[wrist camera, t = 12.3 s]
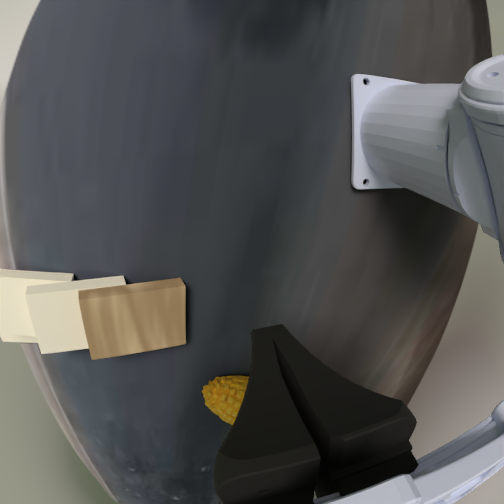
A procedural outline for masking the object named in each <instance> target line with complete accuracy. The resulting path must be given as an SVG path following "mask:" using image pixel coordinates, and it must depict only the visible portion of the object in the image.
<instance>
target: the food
mask: <svg viewBox="0 0 504 504" xmlns="http://www.w3.org/2000/svg"><path fill="white" fill-rule="evenodd" d="M248 379H249V377H246V376H226V377H225V376H223V377H216V378H215V380H213V381H212V382H211V381H210V380H209V383H208V385H206V386H203V391H202V393H203V394H204V395H203V397H204V398H205V405H206V406H208V407H209V409H210V410H211V411H212V412H213V413H215V414H216V415H219V417H220V418H221V419H222V420H223V421H226V422H228V423H230V424H231V425H233V423H234V421H235V419H236V417H237V414H238V412H239V409H240V407H241V404H242V401H243V398H244V395H245V391H246V388H247V384H248Z"/></svg>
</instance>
